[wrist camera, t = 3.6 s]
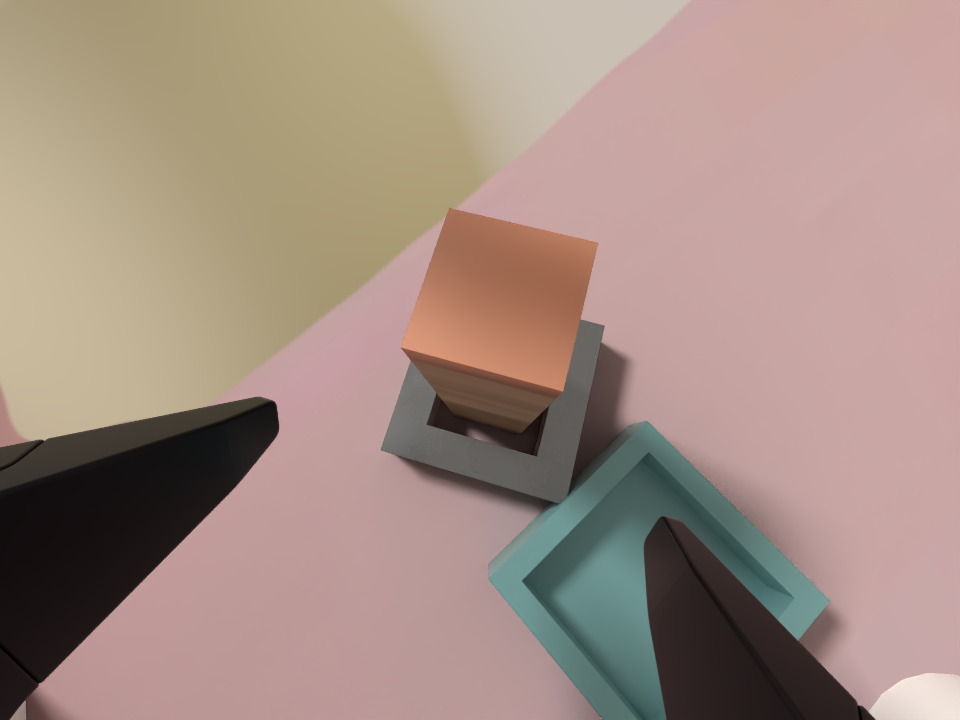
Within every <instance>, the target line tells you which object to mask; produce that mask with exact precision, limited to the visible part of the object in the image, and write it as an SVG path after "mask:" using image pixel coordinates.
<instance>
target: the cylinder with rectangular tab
mask: <svg viewBox="0 0 960 720" xmlns="http://www.w3.org/2000/svg"><path fill="white" fill-rule="evenodd" d="M869 713H870V714H871V715H872V716H873V717H874V718H875V719H876V720H960V676H958V675H952V674H936V673H926V674H922V675H918V676H914V677H910V678H906V679H903V680H901V681H900V682H898V683H897V684H895V685H894V686H892V687H891V688H889V689H888V690H887V691H885V692H884V693H882V694H881V696H880V697H879V699H878V700H877V701H876V703H875V704H874V705H873V707H872V708H871V709H870V711H869Z"/></svg>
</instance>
